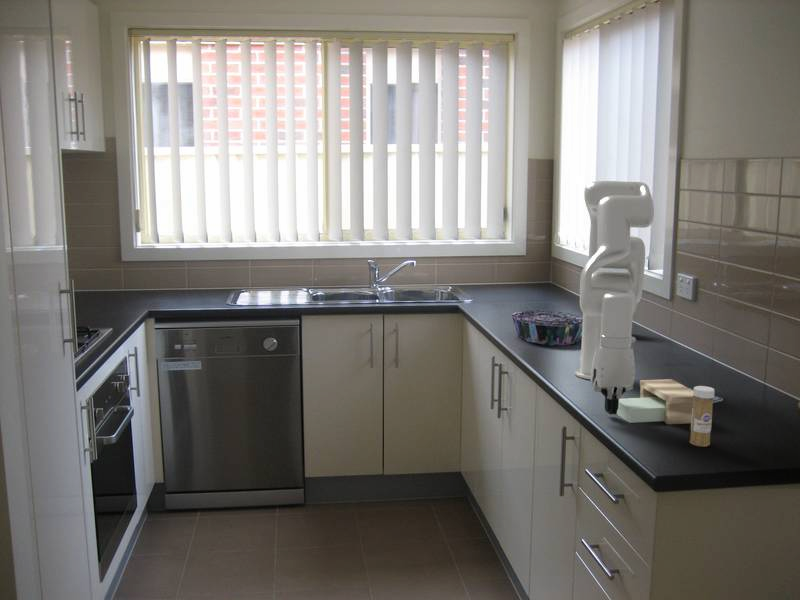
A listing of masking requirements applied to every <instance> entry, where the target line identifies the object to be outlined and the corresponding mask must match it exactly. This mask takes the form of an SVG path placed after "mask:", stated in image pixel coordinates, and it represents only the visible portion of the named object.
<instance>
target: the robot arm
mask: <svg viewBox="0 0 800 600" xmlns="http://www.w3.org/2000/svg"><path fill="white" fill-rule="evenodd" d="M584 203H585V206H586V209H587V211H588V214H589V220H590V231H589V242H588V243H589V246H588V260H587V262H586V263H585V265H584V266H583V269H582V270H581V274H580V277H579V278H580V279H579V280H580V281H579V308H580V310H581V312H582V317H583V325H582V333H581V344H580V345H581V347H580V358H579V362H580V363H579V364H580V366H579V367H577V368H575V370H574V374H575V376H576V377H579V378H581V379H585V380H590V382H591V383H592V386H591V390H592V391H594V392H597V393H601V394H602V395H603V397H604V410H605V412H606V413H607V414H608V415H617V410H618V404H619V399H622V395H624V394H625V392H629V391H632V390H633V389H634V383H635V374H636V370H635V369H636V368H635V366H636V365H635V355H634V349H633V347H632V343H636V341H637V339H636V337H635V336H633V335H632V331H633V330H632V328H633V317H634V316H633V315H634V312H636V310H637V306H638V303H640V301H641V299H642V296H643V289H644V288H643V287H644V280H645V279H644V278H645V267H646V266H645V265H646V246H645V243H644V241H643V239H642V238H640V237H638V236H633V235H632V236H631V228H644V229H646V228H649V227H650V226H651V225H652V223H653V221H654V216H655V215H654V214H655V207H654V201H653V197H652V194H651V190H650V187H649V186H648V184H647V183H645V182H641V181H621V180H620V181H619V180H618V181H617V180H597V181H592V182H589V183H588V184H586V186H585V188H584ZM600 268H601V269H615V270H616V269H617V270H619V269H620V270H627V272H626V271H612V270H611V271H610V270H609V271H605V270H599V269H600ZM598 270H599V271H598Z"/></svg>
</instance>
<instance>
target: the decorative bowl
mask: <svg viewBox="0 0 800 600" xmlns="http://www.w3.org/2000/svg"><path fill="white" fill-rule="evenodd" d="M510 316H511V318H512V320H513V324H514V327H515V330H516V333H517V336H518V337H519V338H520V339H523V341H526V342H529V343H533V344H537V345H543V346H544V345H545V346H573V345H574V344H576V343H578V342H579V340H580V337H581V336H582V325H583V316H581V315H579V314H576V313H573V312H572V313H571V312H567V311H566V312H562V311H556V310H555V311H554V310H525V311H518V312H514V313H512V314H510Z"/></svg>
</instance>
